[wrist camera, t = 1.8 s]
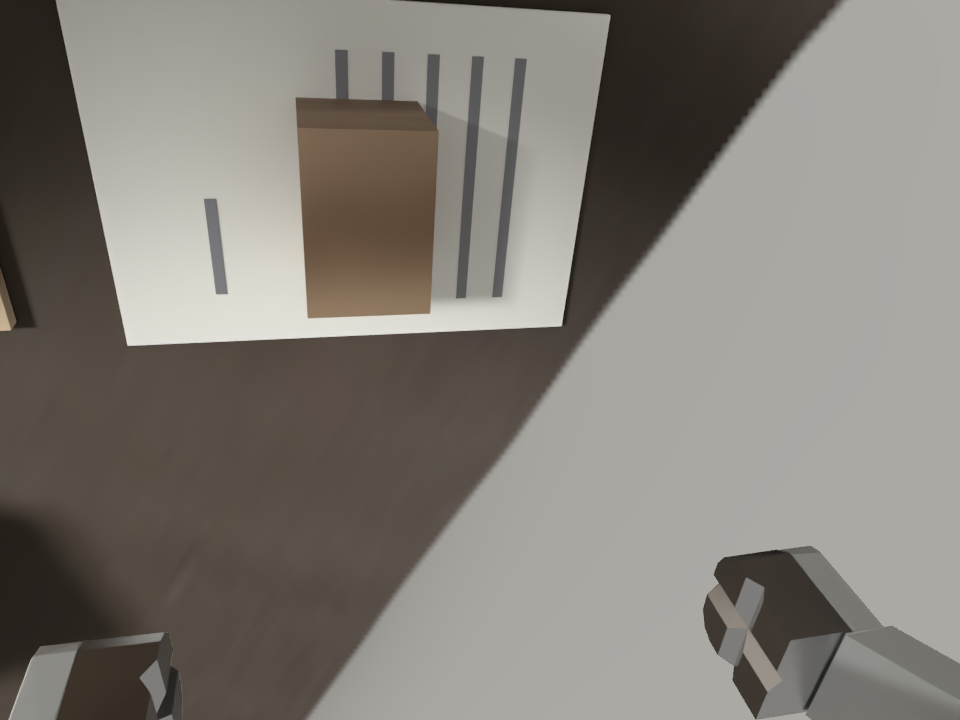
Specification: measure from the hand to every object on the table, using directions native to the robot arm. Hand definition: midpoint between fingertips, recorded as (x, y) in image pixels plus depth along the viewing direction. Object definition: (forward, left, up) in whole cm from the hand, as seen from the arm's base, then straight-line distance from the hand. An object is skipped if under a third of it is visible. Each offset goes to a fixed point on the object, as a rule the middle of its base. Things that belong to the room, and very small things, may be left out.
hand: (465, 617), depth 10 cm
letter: (-1, 0, -18) cm, 18 cm away
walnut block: (-1, 0, -18) cm, 18 cm away
